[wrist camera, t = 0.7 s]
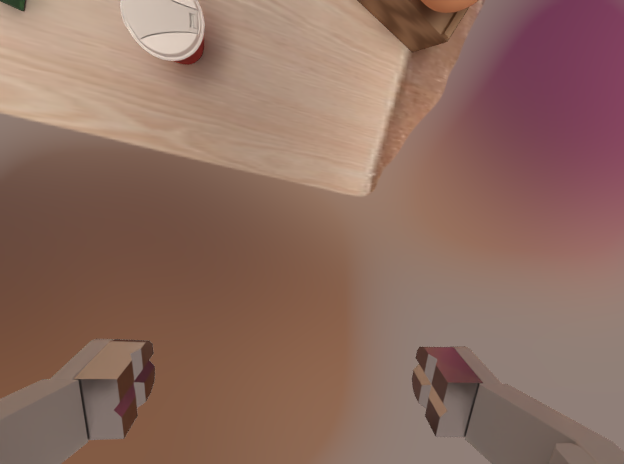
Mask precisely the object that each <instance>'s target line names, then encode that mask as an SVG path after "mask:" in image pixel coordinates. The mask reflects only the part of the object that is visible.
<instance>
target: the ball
mask: <svg viewBox="0 0 624 464" xmlns="http://www.w3.org/2000/svg"><path fill="white" fill-rule="evenodd" d="M421 1H422V2H423V3H424V4H425V5H426V6H427V7H429V8H430V9H432V10H434V11H437V12H441V13H452V12H457V11H460V10H463V9H465V8H468V7H469V6H471V5H473V4H474V3H476V2H477V1H478V0H421Z"/></svg>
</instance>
